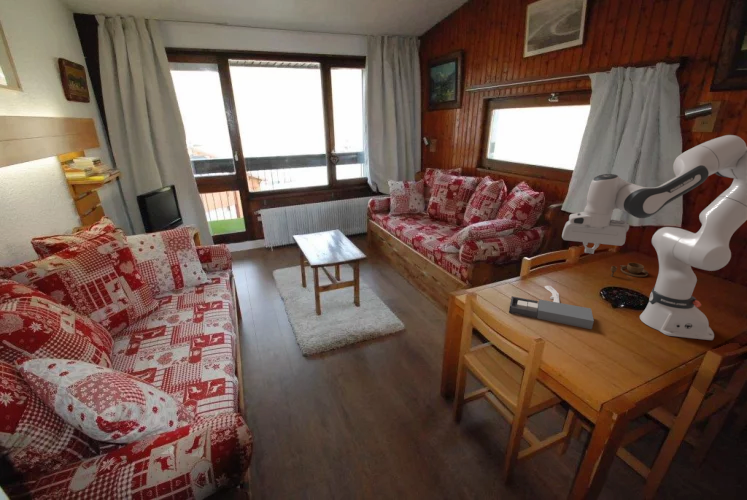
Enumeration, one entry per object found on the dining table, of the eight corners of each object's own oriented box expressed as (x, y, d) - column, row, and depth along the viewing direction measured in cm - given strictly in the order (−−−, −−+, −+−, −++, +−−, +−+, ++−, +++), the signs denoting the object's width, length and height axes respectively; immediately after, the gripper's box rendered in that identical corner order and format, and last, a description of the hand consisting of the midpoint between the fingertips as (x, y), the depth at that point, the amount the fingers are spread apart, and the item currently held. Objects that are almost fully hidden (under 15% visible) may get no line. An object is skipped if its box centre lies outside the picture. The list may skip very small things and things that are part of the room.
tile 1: (517, 300, 149) (517, 304, 150) (517, 304, 146) (516, 309, 147) (527, 301, 147) (526, 306, 148) (527, 306, 144) (526, 311, 145)
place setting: (654, 281, 168) (658, 271, 166) (610, 278, 173) (612, 268, 171) (639, 267, 184) (641, 258, 182) (598, 264, 189) (600, 255, 187)
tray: (536, 306, 149) (537, 301, 148) (536, 318, 141) (537, 312, 140) (510, 301, 154) (511, 296, 153) (508, 312, 146) (509, 306, 145)
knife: (541, 278, 174) (557, 280, 170) (540, 281, 174) (557, 283, 171) (541, 304, 148) (560, 307, 145) (540, 307, 149) (560, 311, 146)
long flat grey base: (588, 316, 141) (590, 308, 140) (591, 329, 133) (593, 321, 131) (537, 306, 149) (538, 299, 148) (537, 318, 141) (538, 310, 140)
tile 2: (537, 308, 147) (538, 303, 146) (536, 312, 143) (537, 308, 142) (527, 306, 148) (528, 301, 148) (526, 310, 145) (527, 305, 144)
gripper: (628, 218, 121) (619, 253, 126) (565, 214, 130) (559, 246, 135) (632, 223, 116) (622, 259, 121) (566, 218, 124) (559, 252, 130)
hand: (588, 252), depth 128 cm, fingers closed
